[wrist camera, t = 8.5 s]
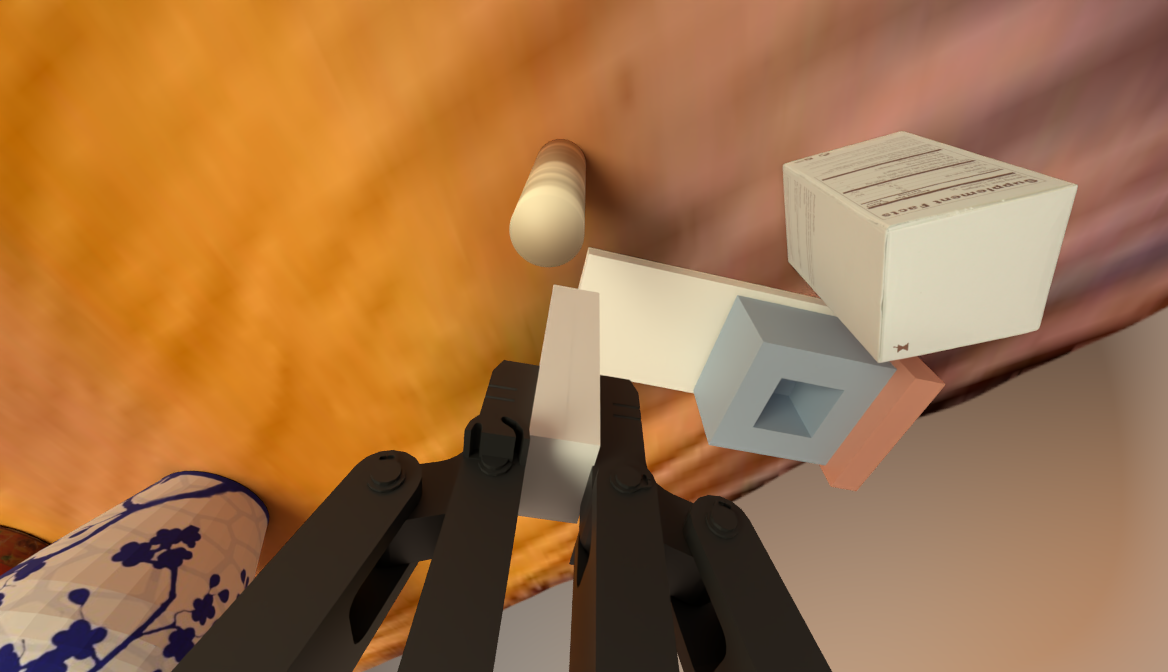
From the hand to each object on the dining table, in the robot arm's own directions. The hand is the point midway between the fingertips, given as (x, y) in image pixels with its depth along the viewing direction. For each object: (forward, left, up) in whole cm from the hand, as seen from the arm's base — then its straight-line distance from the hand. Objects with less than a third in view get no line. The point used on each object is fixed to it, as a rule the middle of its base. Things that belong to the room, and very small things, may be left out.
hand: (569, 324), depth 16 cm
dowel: (-1, -1, -18) cm, 18 cm away
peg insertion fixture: (+9, +13, -18) cm, 24 cm away
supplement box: (-3, +17, -18) cm, 25 cm away
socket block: (+9, +17, -16) cm, 26 cm away
